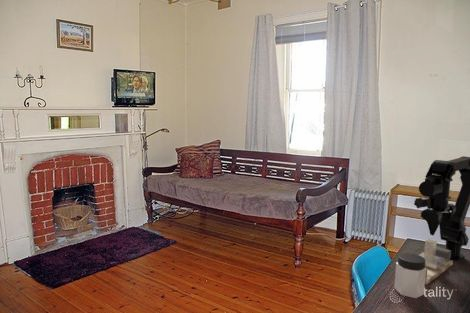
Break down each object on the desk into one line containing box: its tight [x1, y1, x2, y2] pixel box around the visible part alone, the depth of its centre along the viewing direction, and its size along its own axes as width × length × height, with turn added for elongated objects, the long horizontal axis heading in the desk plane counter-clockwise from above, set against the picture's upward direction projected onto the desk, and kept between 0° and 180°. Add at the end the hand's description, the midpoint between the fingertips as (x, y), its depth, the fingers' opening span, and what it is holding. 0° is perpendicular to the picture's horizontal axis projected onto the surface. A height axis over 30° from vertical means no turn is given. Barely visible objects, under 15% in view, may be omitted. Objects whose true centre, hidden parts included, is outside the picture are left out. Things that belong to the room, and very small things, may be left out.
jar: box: [394, 252, 426, 299], centre depth 119 cm, size 9×8×12 cm
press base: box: [425, 245, 454, 285], centre depth 136 cm, size 24×10×6 cm, turn 131°
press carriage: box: [418, 238, 445, 270], centre depth 137 cm, size 8×8×9 cm
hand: (436, 232), depth 139 cm, fingers open, 9 cm apart
